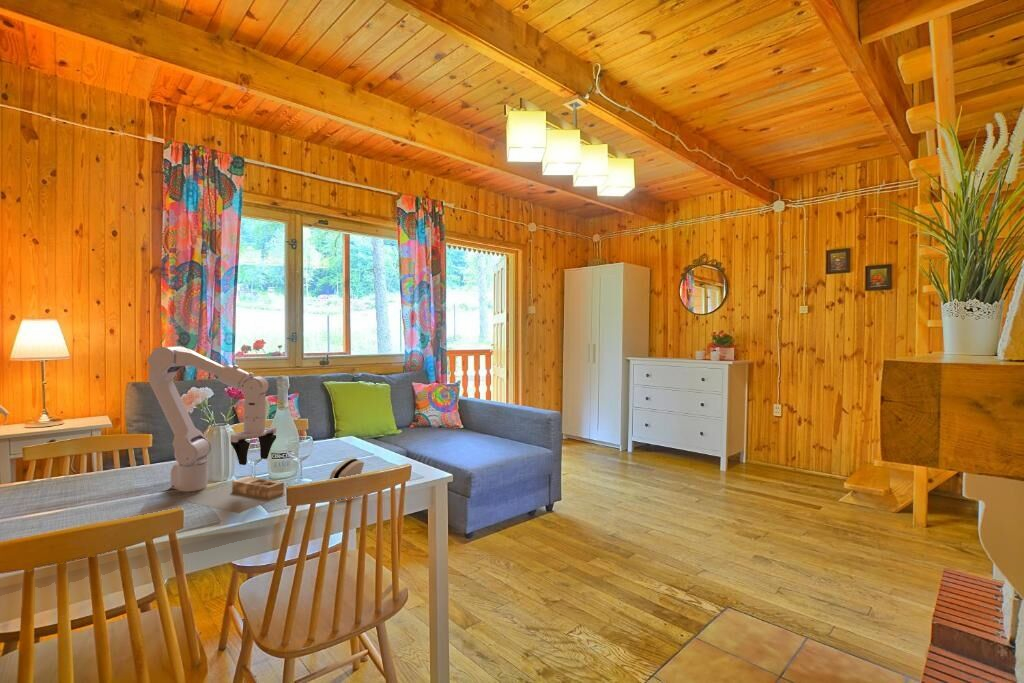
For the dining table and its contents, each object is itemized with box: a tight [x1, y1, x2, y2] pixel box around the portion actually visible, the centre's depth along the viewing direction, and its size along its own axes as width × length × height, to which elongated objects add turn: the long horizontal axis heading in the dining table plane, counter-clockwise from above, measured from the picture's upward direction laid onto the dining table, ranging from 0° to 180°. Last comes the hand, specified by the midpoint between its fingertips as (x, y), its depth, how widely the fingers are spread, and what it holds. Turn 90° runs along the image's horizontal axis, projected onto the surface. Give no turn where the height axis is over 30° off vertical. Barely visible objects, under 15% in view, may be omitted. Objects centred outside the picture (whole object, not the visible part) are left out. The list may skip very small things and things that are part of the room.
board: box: [179, 482, 288, 514], centre depth 143 cm, size 22×22×4 cm
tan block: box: [231, 475, 285, 498], centre depth 145 cm, size 14×5×3 cm, turn 69°
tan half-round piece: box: [328, 457, 365, 480], centre depth 156 cm, size 17×5×10 cm, turn 172°
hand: (253, 461), depth 150 cm, fingers open, 7 cm apart
